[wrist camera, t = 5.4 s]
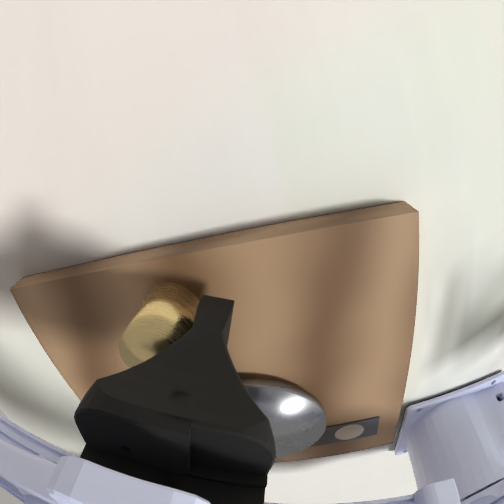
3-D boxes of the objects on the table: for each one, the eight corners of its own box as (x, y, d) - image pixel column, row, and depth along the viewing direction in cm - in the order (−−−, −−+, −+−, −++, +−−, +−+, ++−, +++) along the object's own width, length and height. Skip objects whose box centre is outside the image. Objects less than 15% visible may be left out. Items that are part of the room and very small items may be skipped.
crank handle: (338, 436, 17) (343, 477, 14) (228, 457, 19) (224, 493, 16) (244, 250, 12) (235, 296, 9) (95, 308, 13) (64, 350, 11)
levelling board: (404, 201, 12) (419, 212, 11) (388, 427, 19) (393, 443, 18) (23, 277, 16) (8, 290, 14) (135, 444, 23) (131, 458, 21)
